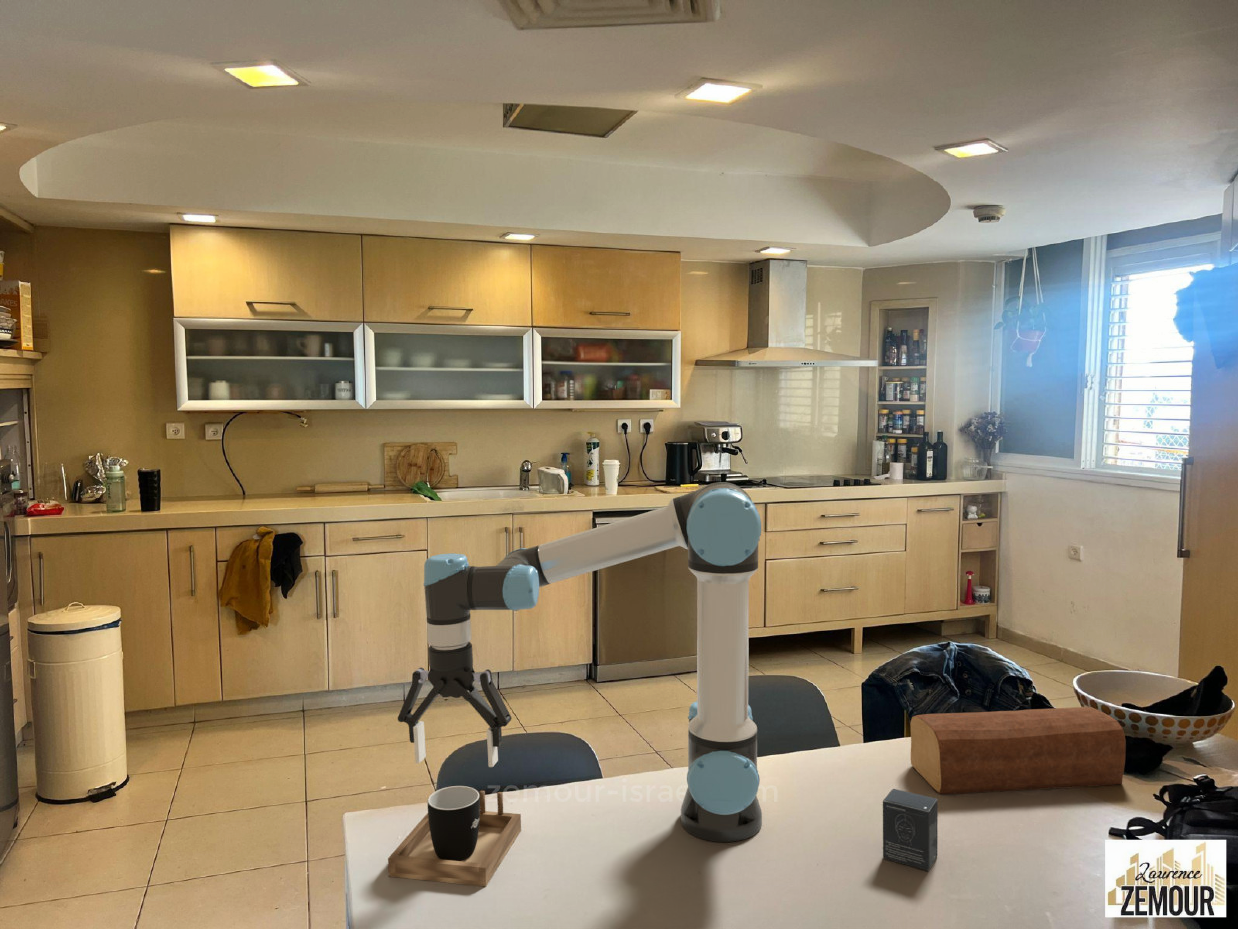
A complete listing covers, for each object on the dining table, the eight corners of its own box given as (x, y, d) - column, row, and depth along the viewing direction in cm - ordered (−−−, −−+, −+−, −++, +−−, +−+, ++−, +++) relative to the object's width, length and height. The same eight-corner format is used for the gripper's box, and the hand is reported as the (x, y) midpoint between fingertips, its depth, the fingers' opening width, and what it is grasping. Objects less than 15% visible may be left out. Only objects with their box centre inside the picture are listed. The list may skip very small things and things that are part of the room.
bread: (1127, 788, 172) (1129, 723, 171) (939, 798, 170) (940, 732, 169) (1081, 756, 188) (1082, 696, 187) (907, 765, 185) (908, 704, 184)
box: (937, 857, 148) (938, 798, 147) (928, 872, 144) (929, 811, 143) (892, 844, 153) (892, 787, 152) (881, 858, 148) (882, 799, 147)
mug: (478, 865, 147) (476, 808, 146) (425, 868, 146) (423, 810, 146) (485, 830, 159) (483, 777, 158) (436, 832, 158) (434, 779, 158)
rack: (521, 830, 160) (519, 793, 159) (486, 886, 142) (484, 844, 142) (433, 823, 164) (432, 786, 163) (388, 876, 146) (386, 835, 145)
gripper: (525, 638, 151) (531, 756, 153) (393, 636, 156) (400, 749, 158) (511, 651, 143) (517, 774, 145) (373, 648, 149) (381, 767, 150)
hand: (456, 762), depth 151 cm, fingers open, 13 cm apart
